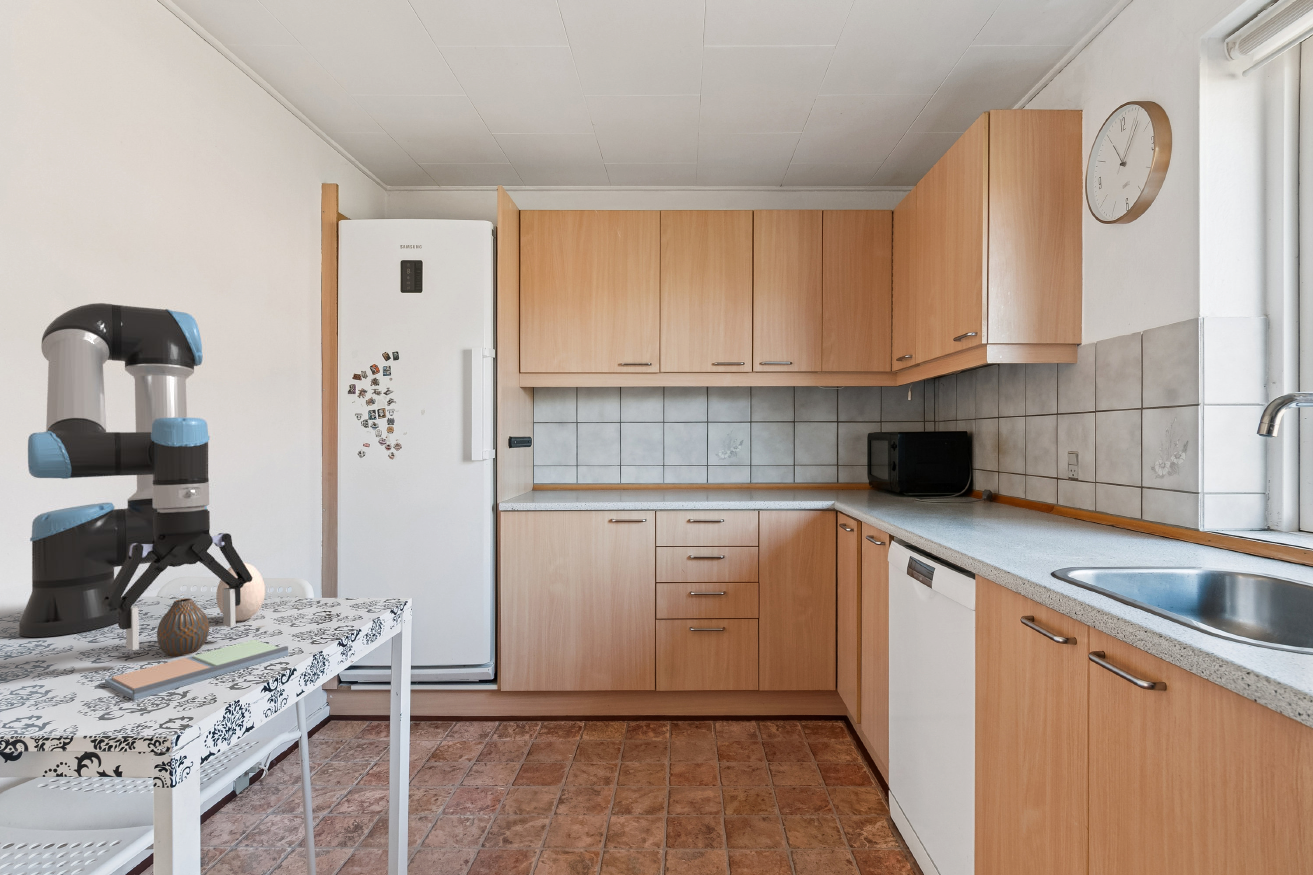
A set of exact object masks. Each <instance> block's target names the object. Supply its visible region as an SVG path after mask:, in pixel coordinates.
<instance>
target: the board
mask: <svg viewBox="0 0 1313 875" xmlns="http://www.w3.org/2000/svg"><path fill="white" fill-rule="evenodd" d="M287 656H289V646H287V645H285V646H282V647H279V646H276V645H273V644H269V643H267V642H263V641H260V640H258V639H253V640H252V639H251V640H248V641H244V642H242V643H241V642H240V643H237V644H233V645H230V646H226V647H222V648H218V649H213V650H210V651H206V652H203V653H199V654H195V655H191V656H188V657H184V658H180V659H177V660H176V659H175V660H172V661H168V662H164V663H160V664H157V665H152V666H149V667H146V668H141V669H137V670H134V671H129V672H126V673H123V674H119V675H115V676H111V677H107V678H105V679H104V685H105V686H107V687H108V688H111V689H113V690H114V691H116V692H117V693H120V694H122V695H124V696H125V697H128V698H130V699H131V700H133V701H138V700H140V699H144V698H147V697H151V696H154V695H157V694H161V693H164V692H167V691H171V690H174V689H178V688H181V687H184V686H188V685H192V684H195V683H198V682H202V681H206V680H209V679H212V678H216V677H219V676H222V675H225V674H229V673H232V672H235V671H239V670H243V669H247V668H249V667H253V666H255V665H256V666H257V665H259V664H262V663H265V662H269V661H273V660H276V659H280V658H283V657H287Z"/></svg>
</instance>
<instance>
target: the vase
mask: <svg viewBox="0 0 1313 875" xmlns="http://www.w3.org/2000/svg"><path fill="white" fill-rule="evenodd" d="M209 631H210V623H209V619H208V617H207V615H206V613H205V611H203V609H201V608H200V607H199V606H198V605H197V604H196V603H195V602H194V599H192V598H190V597H189V598H185V597H184V598H180V599H176V600H174V601H173V603H172V605H171V607H170V608H169V609H168V610H167V612H166V613H165V614H164V615H163V617H162V618H161V619H160V621H159V624H158V626H157V631H156V639H157V640H156V641H157V645H158V647H159V648H160V650H161V651H162V652H163V653H164V654H166V655H167V656H170V657H178V656H179V657H181V656H182V657H183V656H186V655H190V654H194V653H196V652H198V651H199V650H200V649H201V648H202V647H203V646H204V644H205V643H206V641H207V639H208V638H209V637H208V636H209V633H210V632H209Z"/></svg>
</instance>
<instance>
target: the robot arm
mask: <svg viewBox="0 0 1313 875" xmlns="http://www.w3.org/2000/svg"><path fill="white" fill-rule="evenodd" d="M41 353H42V355H43V357H44V358H45V360H47V362H48V366H47V367H48V369H47V372H48V373H47V394H46V395H47V397H46V398H47V399H46V401H47V402H46V423H45V424H46V425H45V427H46V429H45V431H43V432H42V431H40V432H33V433H31V434H29V436H28V439H27V466H28V472H29V474H30V476H32V477H33V478H37V479H63V480H64V479H65V480H67V479H76V478H77V479H79V478H97V477H115V476H116V477H118V476H119V477H120V476H121V477H122V476H136V490H135V492H134V493H133V494H132V495H131V496H129V498H127V507H126V508H117V509H115V506H114V504H113V502H101V503H99V502H98V503H91V504H84V505H83V504H82V505H78V506H72V507H66V508H65V507H64V508H61V509H55V510H51V511H46V512H42V513H40V514H38V515H37V516H35V518H34V519H33V520H32V522H31V523H32V524H31V537H30V539H29V541H30V542H31V588H32V589H31V590H32V591H31V594H30V596H29V599H28V601H27V604H26V606H25V608H24V611H23V613H22V615H21V618H20V620H19V624H18V626H19V627H18V630H19V632H18V634H19V636H20V637H24V638H25V637H26V638H42V637H55V636H63V635H70V634H76V633H82V632H87V631H92V630H97V629H101V628H106V627H109V626H112V625H115V624H117V627H118V628H119V630H122V631H123V630H125V633H126V634H125V638H126V640H125V647H126V649H128V650H130V651H136V650H139V649H140V639H139V638H140V637H139V636H140V634H139V632H140V631H139V630H140V629H139V626H140V625H139V624H140V622H139V607H138V606H135V605H134V604H135V603H136V602H137V601H138V600H139V599H140V597H142V595H143V594H144V593H145V591H146V590H148V589H149V587H150V586H151V585H152V583H153V582H154V581H155V580H156V579H157V578H158V577H159V576H160V575H161V573H163V572H164V571H165V570H166V569H167V568H168V567H173V568H176V567H177V568H178V567H181V566H183V565H196V564H197V563H198V562H199V563H200V564H202V565H203V566H204V567H206V568H207V569H208V570H209V571H210V572H211V573H213V574H214V575H215V576H216V577H218V579H219V580H222V581H223V582H225V583H226V584H227V585H228V586H229V588H223V614H222V615H223V617H222V618H223V626H225V627H228V628H233V627H234V628H235V627H236V621H235V606H238V605H240V602H241V597H240V596H241V595H240V588H242V587H243V585H244V584H245V583H247V582H251V581H252V576H251V574H250V573H249V571H248V569H247V568H246V566H245V565H244V563H245V562H244V561H243V559H242V558H241V557H240V555H239V553H238V552H237V550H236V549H235V547H234V545H233V539H232V535H231V533H228V532H220V533H218V534H217V535H211V533H210V530H211V527H210V526H211V521H210V516H211V514H210V513H211V512H210V510H208V506H209V505H210V482H209V480H210V479H209V441H210V435H209V431H208V430H209V428H208V422H207V421H206V420H205V419H203V418H200V417H199V418H198V417H188V412H187V410H188V409H187V380H188V378H190V377H191V376H192V375H194V373H195V367H197V366H201V365H202V363H203V344H202V338H201V332H200V328H199V326H198V323H197V321H196V319H195V318H194V317H193V315H192V314H189V313H187V312H182V311H177V310H170V309H168V308H165V309H161V308H151V307H141V306H132V305H129V306H128V305H122V304H121V305H120V304H112V303H104V302H103V303H102V302H100V303H99V302H98V303H89V304H85V305H84V304H83V305H81V306H76V307H73V308H72V309H71V308H70V309H69V310H67V311H66V312H63V313H62V314H60V315H59V316H57V317H56V318H55V319H54V320H53V321H52V322H50V323H49V325H48V326H47V327H46V329H45V330H44V331H43V334H42V337H41ZM107 361H118V362H124V370H125V372H127V373H128V374H129V375H130V376H132V377H133V379H134V400H135V401H134V407H135V410H134V412H135V432H133V431H126V432H123V431H121V432H120V431H111V432H110V431H107V423H106V422H107V420H106V418H107V417H106V398H105V381H104V380H105V379H104V377H105V375H104V364H105V363H106V362H107ZM213 544H214V545H215V546H216V547H218V548H219V550H220V552H221V554H222V555H223V556H224V558H225V560H226V562H228V565H229V566H230V567H231V568H232V569H233V571H234V572H235V574H236V576H237V577H238V578H236V577H235V576H233V575H232V574H231V573H230V572H229V571H228V569H227V568H225V567H224V566H223V565H222V564H221V563H220V562H219V561H217V560H216V559H215V557H214V556H212V554H210V552H208V551H209V549H210V548H211V546H212V545H213ZM145 564H149V565H148V567H147V568H146V569H145V570H144V571H143V573H142V574H141V575H140V576H139V577H138V578H137V579H136V580H135V582H134V583H133V584H132V585H131V586H130V587H129V588H128V589H127V587H128V585H129V584H130V582H131V580H132V579H133V577H134V575H135V573H136V571H137V569H138V568H139V566H140V565H145ZM117 567H120V569H119V570H118V572H117V574H116V577H115V568H117ZM126 589H127V591H126Z"/></svg>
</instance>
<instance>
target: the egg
mask: <svg viewBox="0 0 1313 875" xmlns="http://www.w3.org/2000/svg"><path fill="white" fill-rule="evenodd" d="M243 563H244V565H245V566H246V568H247V569H248V571H249V573H250V574H251V576H252V581H251V582H247V583H245V584H244V585H243V587H242V588H240V595H241V596H240V597H241V602H240V605H238V606H235V622H243V621H246V620H249V619H250V618H251V619H252V617H254V616H255V615H256V614H257V613H258V611H259V610H261V607H262V606H263V604H264V601H265V597H266V586H265V581H264V578H263V577H262V575H261V572H260V571H258V569H257V568H256V567H255V566H253V565H252V564H250V563H247V562H243ZM227 570H228V571H229V572H230V573H231V574H232V575H233V576H235V577H236V578H238V577H237V576H236V574H235V572H234V571H233V569H232V568H231V566H230V567H228V569H227ZM219 580H220V581H219V583H218V585H217V589H216V597H215V598H216V604H217V606H218V609H219V611H220V612H221V614H222V615H223V588H229V586H228V585H227V584H226V583H225V582H223V581H222V580H221V579H219Z"/></svg>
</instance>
